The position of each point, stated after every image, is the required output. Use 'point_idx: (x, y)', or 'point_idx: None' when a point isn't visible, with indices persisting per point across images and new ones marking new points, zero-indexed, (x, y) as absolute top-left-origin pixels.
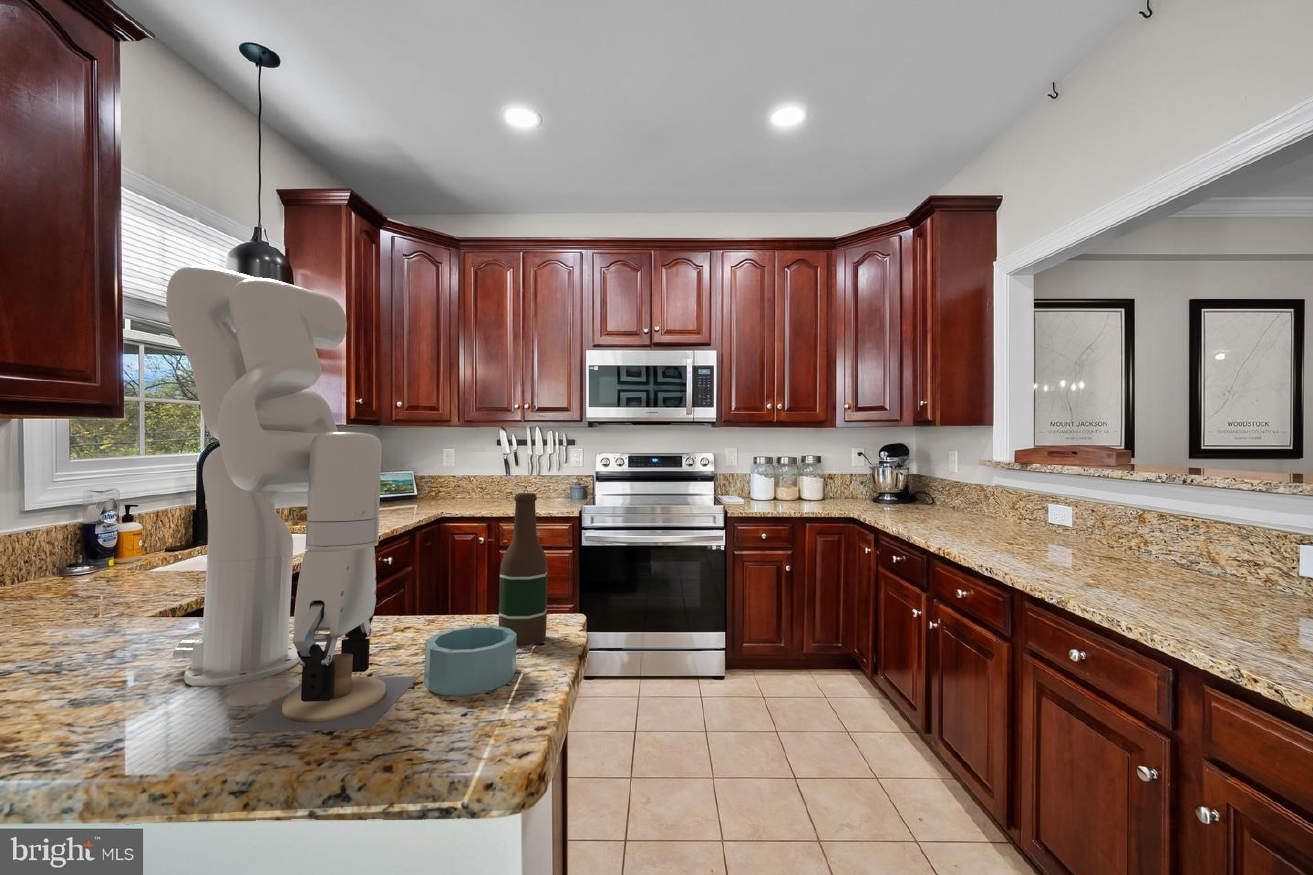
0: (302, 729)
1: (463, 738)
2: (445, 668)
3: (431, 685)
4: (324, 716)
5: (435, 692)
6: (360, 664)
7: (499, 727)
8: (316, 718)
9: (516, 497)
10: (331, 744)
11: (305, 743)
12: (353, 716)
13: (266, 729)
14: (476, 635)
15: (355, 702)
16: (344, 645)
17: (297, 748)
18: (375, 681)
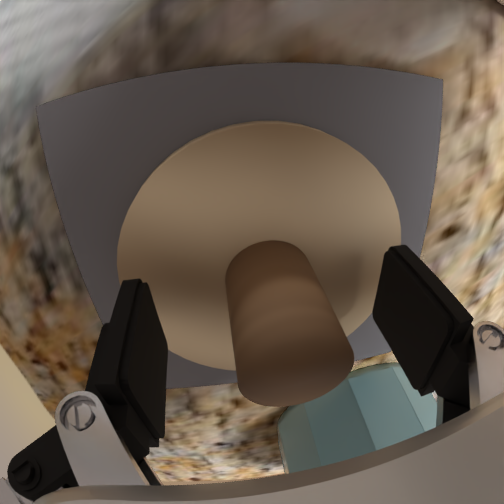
0: (90, 286)
1: (156, 453)
2: (289, 463)
3: (303, 412)
4: None
5: (293, 409)
6: (384, 319)
7: (189, 465)
8: None
9: None
10: (80, 352)
11: (65, 311)
12: None
13: (65, 197)
14: None
15: (210, 350)
16: (437, 321)
17: (47, 308)
18: (349, 322)
